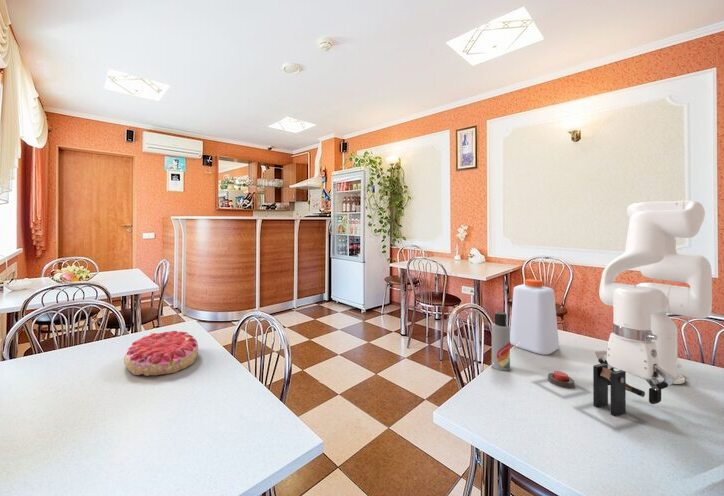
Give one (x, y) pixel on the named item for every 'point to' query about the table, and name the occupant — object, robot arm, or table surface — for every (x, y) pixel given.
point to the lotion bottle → (501, 342)
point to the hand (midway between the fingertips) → (631, 393)
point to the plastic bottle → (534, 318)
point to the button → (560, 376)
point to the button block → (561, 383)
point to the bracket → (616, 390)
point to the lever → (607, 375)
